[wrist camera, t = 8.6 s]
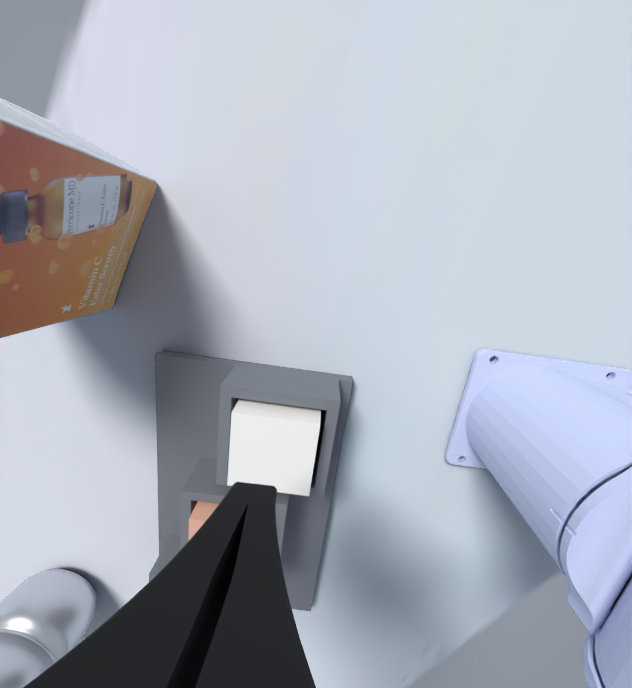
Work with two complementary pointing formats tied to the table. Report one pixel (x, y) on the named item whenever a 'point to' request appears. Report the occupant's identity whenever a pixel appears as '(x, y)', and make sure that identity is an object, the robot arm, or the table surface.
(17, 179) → the small box
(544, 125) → the table surface
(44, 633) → the plastic bottle
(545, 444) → the robot arm
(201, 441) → the panel
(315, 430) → the ivory key
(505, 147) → the table surface
